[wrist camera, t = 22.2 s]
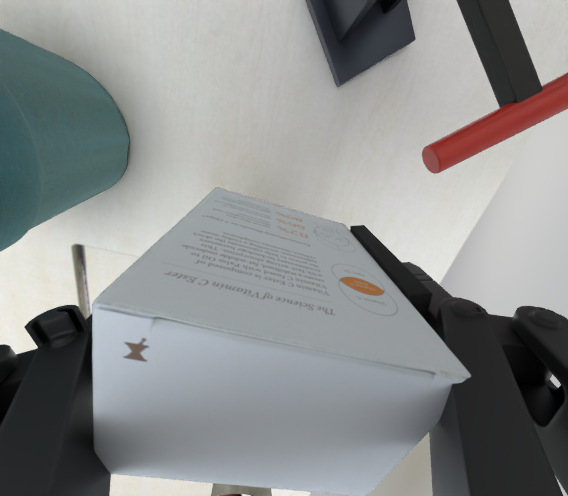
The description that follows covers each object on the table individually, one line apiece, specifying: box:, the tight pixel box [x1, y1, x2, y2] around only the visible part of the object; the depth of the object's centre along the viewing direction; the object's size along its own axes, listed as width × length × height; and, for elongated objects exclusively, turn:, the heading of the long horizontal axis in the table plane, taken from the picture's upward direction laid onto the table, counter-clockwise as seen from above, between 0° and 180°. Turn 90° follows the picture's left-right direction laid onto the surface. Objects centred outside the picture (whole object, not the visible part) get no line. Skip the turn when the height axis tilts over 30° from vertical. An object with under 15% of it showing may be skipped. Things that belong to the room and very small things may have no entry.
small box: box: [92, 187, 471, 496], centre depth 10 cm, size 8×6×10 cm
